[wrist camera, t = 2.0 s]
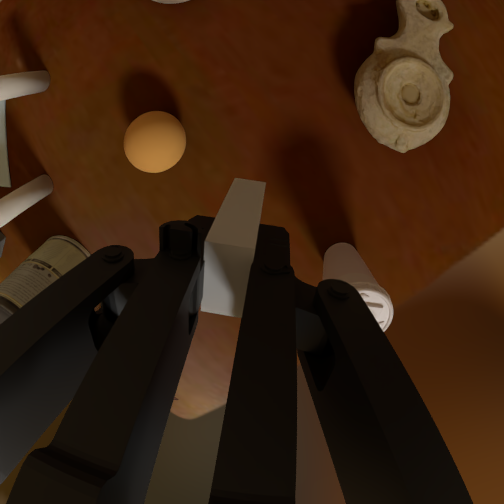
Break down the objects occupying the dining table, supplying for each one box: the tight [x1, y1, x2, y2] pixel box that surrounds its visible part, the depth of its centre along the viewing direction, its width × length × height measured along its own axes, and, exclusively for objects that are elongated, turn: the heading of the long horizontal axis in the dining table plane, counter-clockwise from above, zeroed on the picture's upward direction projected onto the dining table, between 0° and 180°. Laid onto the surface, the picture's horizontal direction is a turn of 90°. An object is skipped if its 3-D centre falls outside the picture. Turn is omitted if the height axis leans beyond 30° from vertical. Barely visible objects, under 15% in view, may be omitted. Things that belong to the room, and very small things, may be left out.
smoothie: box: [323, 243, 393, 332], centre depth 26 cm, size 6×6×14 cm
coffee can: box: [0, 235, 91, 324], centre depth 31 cm, size 10×10×14 cm
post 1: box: [0, 70, 50, 101], centre depth 21 cm, size 3×3×9 cm
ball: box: [124, 111, 186, 173], centre depth 25 cm, size 6×6×6 cm
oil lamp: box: [354, 0, 453, 153], centre depth 20 cm, size 11×14×5 cm
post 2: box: [0, 174, 53, 228], centre depth 27 cm, size 3×3×9 cm
